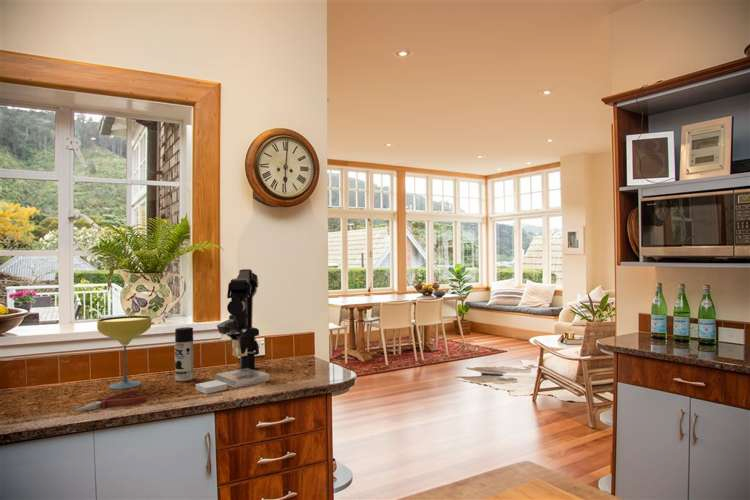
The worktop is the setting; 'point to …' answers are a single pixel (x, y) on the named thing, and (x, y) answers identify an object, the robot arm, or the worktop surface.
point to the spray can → (184, 354)
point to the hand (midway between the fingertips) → (239, 352)
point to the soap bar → (211, 386)
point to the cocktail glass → (124, 338)
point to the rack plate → (242, 377)
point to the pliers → (114, 401)
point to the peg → (237, 348)
